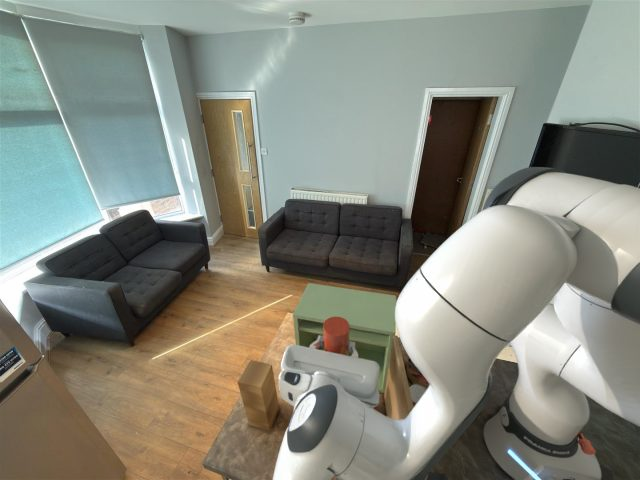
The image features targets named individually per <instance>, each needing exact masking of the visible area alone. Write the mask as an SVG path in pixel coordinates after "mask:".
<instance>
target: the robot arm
mask: <svg viewBox="0 0 640 480" xmlns="http://www.w3.org/2000/svg"><path fill="white" fill-rule="evenodd" d="M552 301H553V303H551V302H552ZM395 322H396V331H397V334H398V338H399V339H400V342H401V344H402V346H403V348H404V350H405V353H406V354H407V356H408V358H409V357H410V359H411V360H412V362H413V363H414V365H415V366H416V367H417V368H418V369H419V371H420V372H421V373H422V374H423V376H424V377H425V378H426V380H427V381H428V382H429V384H430V385H429V387H428V389H427V390H426V392H425V393H424V394H423V396H422V397H421V398H420V400H419V401H418V402H417V404H416V405H415V407H414V408H413V409H412V411H411V412H410V413H409V415H408V416H407V417H406V418H405V419H403V420H398V419H392V418H389V417H387V415H384V414H383V413H381V412H380V411H378V410H376V409H375V408H376V407H378V406H379V403H380V392H379V391H378V389H377V384H378V378H379V370H380V367H379V365H378V364H377V362H375V361H371V360H366V359H361V358H358V353H357V351H356V349H355V342H351V341H349V344H348V352H351V353H352V356H347V355H342V354H337V353H332V352H328V351H323V350H318V349H317V348H319V347H320V346H322V347H323V346H324V341H323V336H321V335H319V336H318V339H317V340H316V341H315V342H313V343H312V344H311V345H310V347H309V348H308V347H304V346H299V345H296V344H293V343H291V344H290V345H288V346H286V348H285V350H284V352H283V356H282V358H281V359H282V360H281V362H280V368H281V369H280V372H279V375H278V389H279V394H280V397H281V399H282V400H283V401H285V402H286V403H288V404H289V405H291V406H292V407H293V411H292V414H291V417H290V420H289V423H288V426H287V427H286V430H285V432H284V435H283V438H282V440H281V441H282V442H281V444H280V448H279V450H278V451H279V452H278V454H277V459H276V461H275V467H274V470H273V476H272V480H332V479H333V478H336V479H338V480H425V479H426V477H427V475H428V474H429V472H432V470H433V469H434V468H435V466H436V465H437V464H438V463H439V462H440V461H441V459H442V458H443V457H444V456H445V455H446V454H447V453H448V452H449V450H450V449H451V448H452V447H453V445H454V444H455V443H456V442H457V441H458V440H459V438H460V437H462V435H463V434H464V433H465V432H466V431H467V429H468V428H470V426H471V425H472V424H473V422H474V421H475V420H476V419H477V417H479V415H480V413H481V412H482V411H483V410H484V408H485V406H486V404H487V403H488V402H489V399H490V397H491V394H492V391H493V386H494V381H493V379H494V378H493V374H492V372H491V369H492V367H493V364H494V363H495V361H496V359H497V358H498V357H499V355H500V354H501V353H502V352H503V350H504V349H506V347H508V345H510V347H511V348H512V351H513V353H514V355H515V359H516V362H517V368H518V377H517V380H516V383H515V385H514V387H513V390H511V391H510V392H509V393H508V394H507V396H506V398H505V400H504V401H503V403H502V405H501V408H500V409H499V411H498V412H497V413H496V414H495V415H494V416H493V417H491V418H489V419H488V420H487V421H486V422H485V424H484V427H483V439H484V442H485V445H486V447H487V450H488V452H489V453H490V456H491V457H492V458H493V460H494V461H495V463H497V465H498V466H499V467H500V468H501V469H502V470H503V471H504V472H505V473H506V474H507V475H508V476H510V477H511V478H512V479H513V480H614V476H613V470H611V469H609V468H608V467H606V466H604V465H602V464H600V463H599V460H598V458H597V456H596V453H597V451H596V450H595V448H594V447H593V445H592V442H591V440H590V439H587V438H586V437H585V436H584V434H583V428H584V427H585V426H586V425H587V423H588V422H589V420H590V417H591V410H590V405H589V401H588V398H589V399H591V400H593V401H594V402H595V403H597V404H598V405H600V406H601V407H602V408H604V409H605V410H608V411H609V412H611V413H612V414H615V415H617V416H618V417H620V418H622V419H623V420H626V421H627V422H629V423H631V424H633V425H635V426H637V427H639V428H640V187H637V186H633V185H629V184H625V183H624V184H622V183H621V184H619V183H615V182H611V181H607V180H603V179H600V178H596V177H595V178H594V177H590V176H584V175H578V174H573V173H566V171H564V170H562V169H560V168H554V167H545V166H529V167H528V166H527V167H524V168H522V169H519V170H517V171H515V172H513V173H511V174H509V175H507V176H506V177H504V178H503V179H502V180H501V181H499V182H498V183H497V184H496V185H495V186H494V187H493V188H492V189H491V191H490V193H488V196H487V197H486V200H485V201H484V204H483V207H482V210H481V211H479V212H478V213H477V214H475V215H474V216H473V217H472V218H470V219H469V220H468V221H466V222H465V223H464V224H463V225H462V226H460V227H459V228H458V229H457V230H456V231H455V232H453V233H452V234H451V235H450V236H449V237H448V238H447V239H446V240H444V241H443V242H442V244H441V245H439V247H437V249H435V251H433V253H432V254H431V255H430V256H429V257H428V258H427V259H426V260H425V261H424V262H423V264H422V265H421V266H420V267H419V268H418V269H417V270H416V271H415V273H414V274H413V275H412V277H410V279H409V280H408V281H407V282H406V284H405V286H404V287H403V288H402V290H401V291H400V293H399V295H398V297H397V298H396V307H395ZM587 397H588V398H587Z"/></svg>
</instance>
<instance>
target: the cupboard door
mask: <svg viewBox="0 0 640 480" xmlns="http://www.w3.org/2000/svg"><path fill="white" fill-rule="evenodd" d="M409 387H410V386H409V381H408V375H407V370H406V367H405V363H404V358H403V354H402V349H401V344H400V341H399V335H396V334H395V335H393V341H392V348H391V355H390V361H389V368H388V374H387V381H386V388H385V393H383V394H384V395H383V397H384V404H385V412H386V416H387V417H389V418H392V419H398V420H403V419H405V418H406V417H407V416H408V415H409V413H410V412H411V411H412V409H413V408H414V407H413V402H412V398H411V393H410V389H409ZM425 480H450V478H449V477H448V475H447V474H446V473H443V472H435V471H430V472H429V474H428V475H427V477H426V479H425Z"/></svg>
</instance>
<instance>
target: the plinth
mask: <svg viewBox="0 0 640 480" xmlns="http://www.w3.org/2000/svg"><path fill="white" fill-rule="evenodd" d="M237 386H238V390H239V393H240V397H241V400H242V404H243V407H244V411H245V416H246V420H247V423H248V426H252V427H255V428H258V429H262V430H266V431H269V432H271V431H272V428H273V425H274V422H275V419H276V417H277V415H278V412H279V409H280V404H279V397H278V392H277V386H276V380H275V375H274V369H273V364H272V363H267V362H264V361H257V360H255V359H249V360H248V362H247V364H246V366H245V367H244V369H243V370H242V373H240V376H239V378H238V379H237Z"/></svg>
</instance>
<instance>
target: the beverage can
mask: <svg viewBox="0 0 640 480" xmlns="http://www.w3.org/2000/svg"><path fill="white" fill-rule="evenodd" d="M409 389H410V393H411V398H412V402H413V407H415V405H416V404H417V402H418V401H419V400H420V398H421V397H422V396H423V394H424V393H425V392H426V390H427V389H426V388H424V387H423V386H421V385H417V384H411V385H410V386H409Z"/></svg>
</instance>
